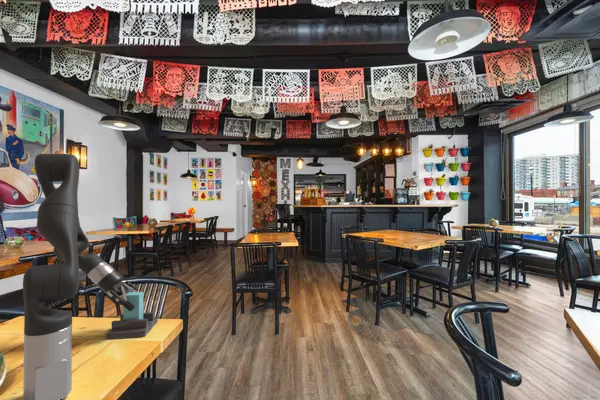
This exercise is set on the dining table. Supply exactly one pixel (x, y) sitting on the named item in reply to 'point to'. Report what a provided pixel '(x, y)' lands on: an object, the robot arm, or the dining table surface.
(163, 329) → the dining table surface
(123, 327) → the book stand
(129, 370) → the dining table surface
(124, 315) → the teal book
